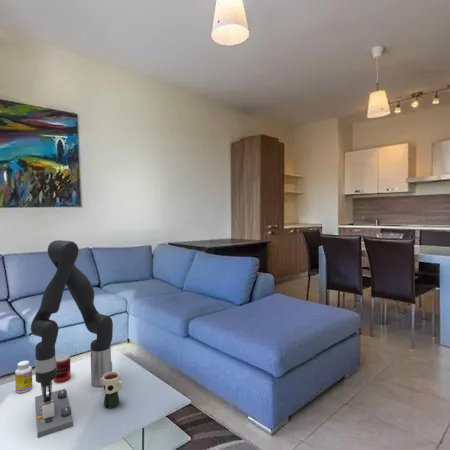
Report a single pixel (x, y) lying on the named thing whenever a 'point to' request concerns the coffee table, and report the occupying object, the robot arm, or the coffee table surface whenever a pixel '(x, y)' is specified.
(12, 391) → the coffee table surface
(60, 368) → the canned food
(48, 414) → the fader cap
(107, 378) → the character mug
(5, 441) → the coffee table surface
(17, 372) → the supplement bottle
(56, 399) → the console board
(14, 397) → the coffee table surface
